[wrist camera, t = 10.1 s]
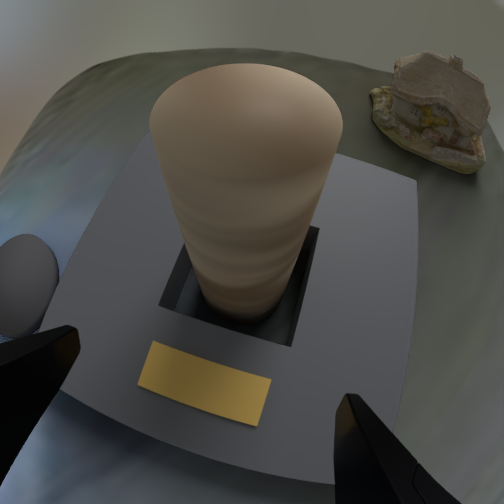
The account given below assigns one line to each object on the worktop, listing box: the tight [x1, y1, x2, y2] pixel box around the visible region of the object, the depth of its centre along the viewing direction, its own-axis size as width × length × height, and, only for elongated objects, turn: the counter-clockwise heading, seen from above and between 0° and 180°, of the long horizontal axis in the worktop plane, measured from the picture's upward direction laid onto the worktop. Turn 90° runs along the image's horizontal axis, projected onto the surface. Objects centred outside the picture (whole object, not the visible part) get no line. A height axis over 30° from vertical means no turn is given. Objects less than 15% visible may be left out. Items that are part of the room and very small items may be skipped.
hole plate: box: [38, 130, 418, 485], centre depth 17 cm, size 20×20×3 cm
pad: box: [0, 234, 59, 338], centre depth 17 cm, size 8×8×1 cm
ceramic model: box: [370, 50, 491, 174], centre depth 23 cm, size 14×11×10 cm
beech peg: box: [149, 64, 343, 325], centre depth 13 cm, size 5×5×13 cm
